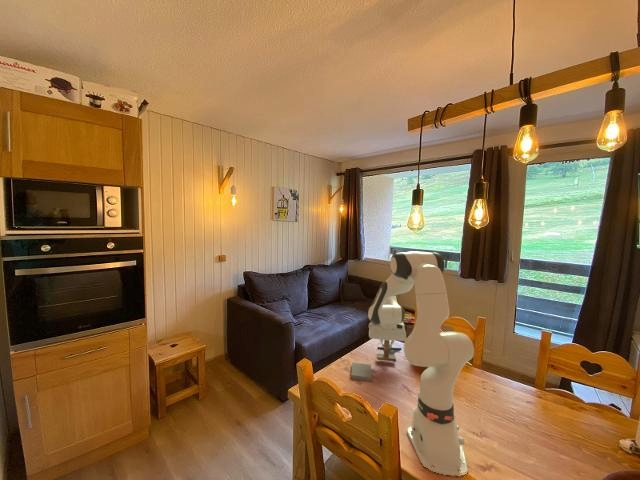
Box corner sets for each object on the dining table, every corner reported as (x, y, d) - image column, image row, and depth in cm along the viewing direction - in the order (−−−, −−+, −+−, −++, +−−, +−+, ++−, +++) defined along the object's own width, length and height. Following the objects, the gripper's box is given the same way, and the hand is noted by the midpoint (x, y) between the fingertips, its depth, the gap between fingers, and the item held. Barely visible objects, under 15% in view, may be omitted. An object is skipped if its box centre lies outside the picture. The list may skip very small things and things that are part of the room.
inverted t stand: (395, 361, 146) (396, 343, 145) (377, 359, 147) (378, 341, 146) (394, 357, 150) (395, 339, 149) (376, 355, 151) (377, 338, 150)
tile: (370, 368, 142) (371, 382, 130) (352, 366, 144) (351, 379, 132) (370, 364, 142) (371, 377, 130) (352, 362, 144) (351, 375, 132)
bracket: (381, 361, 150) (381, 356, 150) (377, 348, 165) (377, 344, 165) (407, 363, 150) (407, 358, 149) (400, 350, 164) (401, 345, 164)
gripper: (369, 323, 145) (368, 347, 146) (407, 326, 142) (406, 351, 143) (368, 319, 151) (367, 342, 152) (405, 322, 148) (404, 345, 149)
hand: (386, 346), depth 148 cm, fingers closed on inverted t stand, 2 cm apart
